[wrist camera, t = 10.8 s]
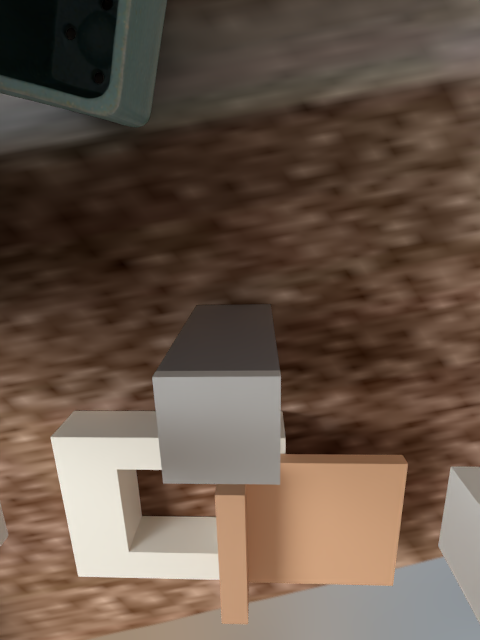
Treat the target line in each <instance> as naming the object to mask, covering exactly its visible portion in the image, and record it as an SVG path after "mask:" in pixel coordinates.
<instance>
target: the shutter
mask: <svg viewBox="0 0 480 640" xmlns="http://www.w3.org/2000/svg"><path fill="white" fill-rule="evenodd" d="M407 468H408V463H407V462H406V460H405V458H404V456H403V455H338V454H280V485H274V484H216V491H215V506H216V524H217V542H218V561H219V579H220V597H221V615H222V624H223V623H224V624H248V602H249V582H262V583H304V584H346V585H348V584H349V585H350V584H351V585H388V586H391V585H393V580H394V572H395V564H396V556H397V548H398V540H399V532H400V524H401V516H402V508H403V500H404V492H405V484H406V476H407Z"/></svg>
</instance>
